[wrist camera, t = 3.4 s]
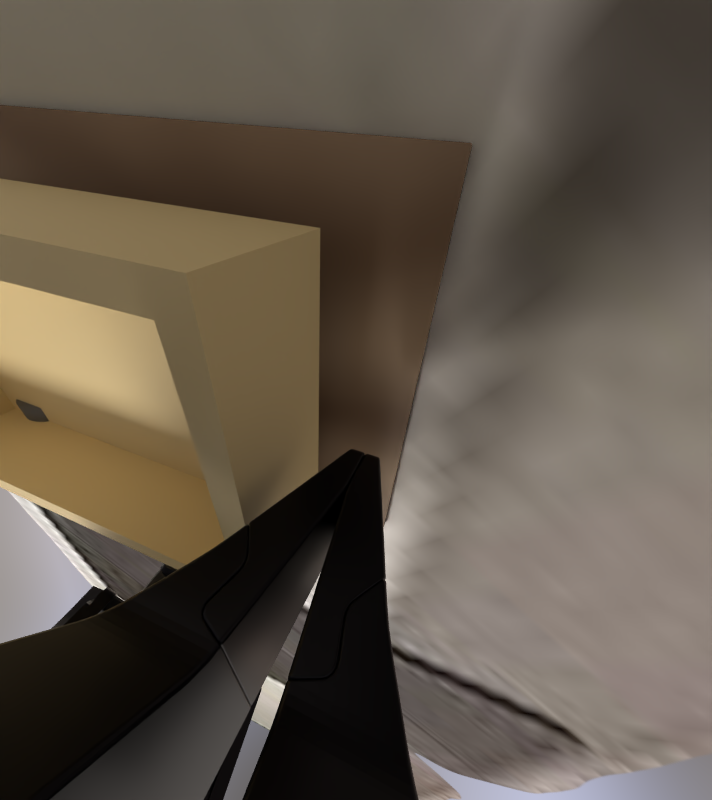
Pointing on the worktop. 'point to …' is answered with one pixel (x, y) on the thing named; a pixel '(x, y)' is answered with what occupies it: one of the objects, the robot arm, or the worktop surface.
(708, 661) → the worktop surface
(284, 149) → the brown board
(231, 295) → the wooden tray
